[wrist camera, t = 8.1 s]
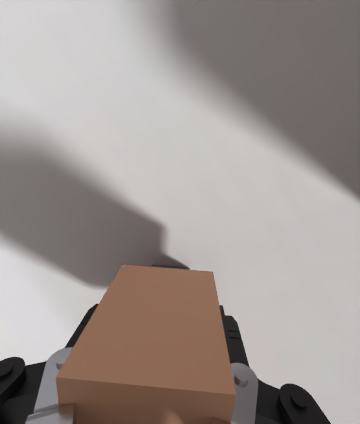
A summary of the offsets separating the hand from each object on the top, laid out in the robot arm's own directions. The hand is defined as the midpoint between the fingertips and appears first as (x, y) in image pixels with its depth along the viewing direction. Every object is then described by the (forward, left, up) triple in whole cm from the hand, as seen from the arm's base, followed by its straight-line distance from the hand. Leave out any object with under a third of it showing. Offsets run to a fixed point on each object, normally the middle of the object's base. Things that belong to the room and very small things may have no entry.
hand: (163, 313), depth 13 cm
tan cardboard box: (0, 0, -1) cm, 1 cm away
